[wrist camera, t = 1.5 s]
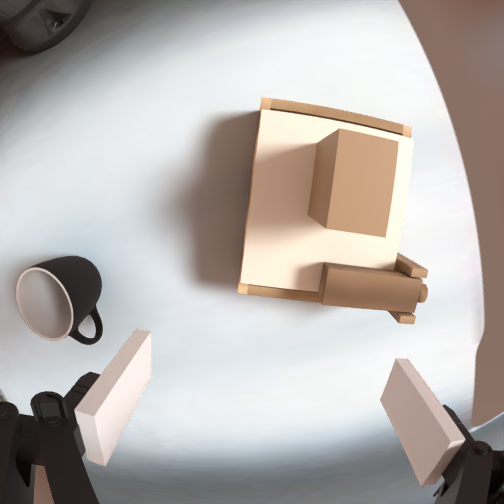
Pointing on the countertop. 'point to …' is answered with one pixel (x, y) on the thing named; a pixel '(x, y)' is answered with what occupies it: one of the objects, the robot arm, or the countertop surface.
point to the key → (370, 288)
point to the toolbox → (347, 117)
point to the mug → (60, 298)
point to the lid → (323, 199)
